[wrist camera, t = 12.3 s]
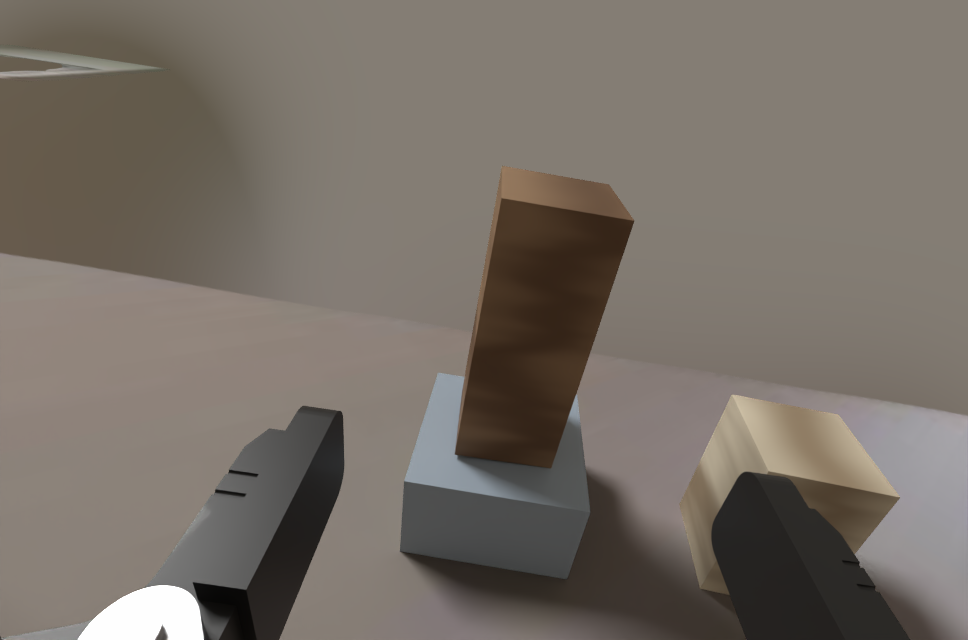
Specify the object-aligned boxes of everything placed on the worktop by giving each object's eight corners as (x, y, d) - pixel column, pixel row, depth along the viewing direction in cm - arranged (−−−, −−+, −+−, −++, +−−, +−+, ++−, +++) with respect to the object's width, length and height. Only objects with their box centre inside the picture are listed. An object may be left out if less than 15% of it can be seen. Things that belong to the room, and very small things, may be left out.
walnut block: (454, 454, 22) (501, 197, 16) (462, 391, 26) (502, 166, 20) (551, 468, 22) (634, 220, 16) (544, 403, 26) (609, 184, 20)
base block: (399, 553, 23) (404, 481, 20) (432, 437, 30) (438, 372, 27) (565, 582, 23) (590, 512, 20) (559, 458, 30) (577, 395, 27)
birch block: (699, 588, 23) (768, 471, 19) (679, 504, 27) (732, 394, 23) (807, 612, 23) (900, 497, 19) (769, 523, 27) (838, 414, 23)
